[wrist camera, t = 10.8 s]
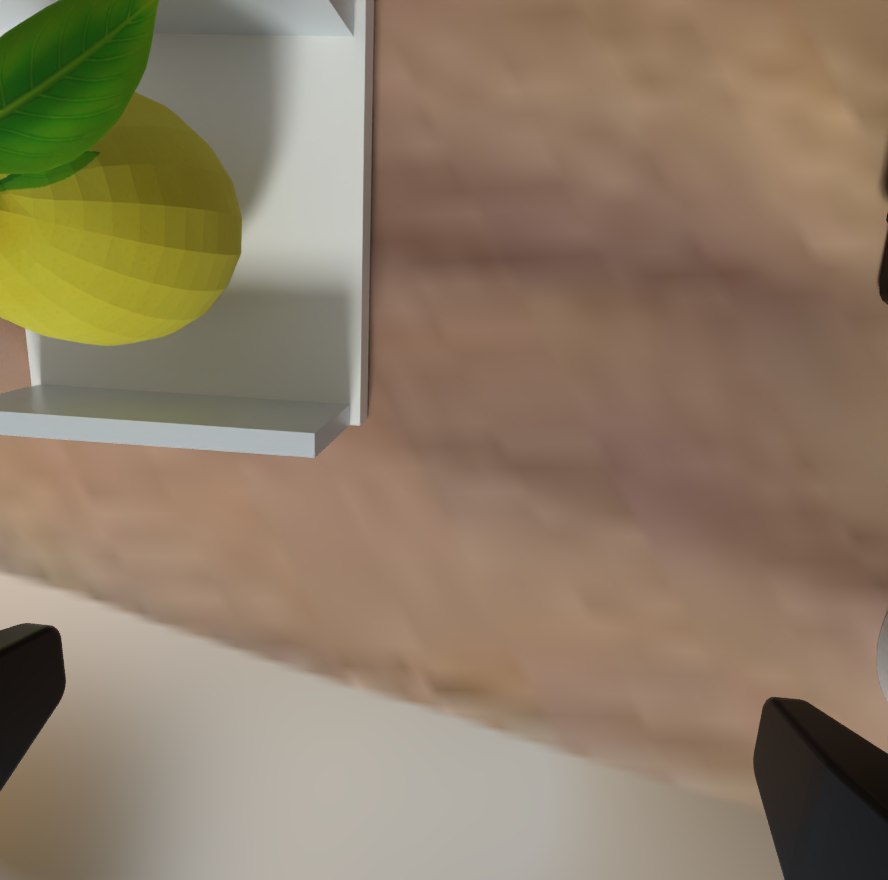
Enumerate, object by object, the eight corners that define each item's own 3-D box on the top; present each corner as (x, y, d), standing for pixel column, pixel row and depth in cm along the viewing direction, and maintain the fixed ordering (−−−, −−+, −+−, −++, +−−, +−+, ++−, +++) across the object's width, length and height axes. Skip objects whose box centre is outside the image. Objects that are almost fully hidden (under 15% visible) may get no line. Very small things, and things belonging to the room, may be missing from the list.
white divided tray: (382, -478, 15) (327, -789, 10) (367, 417, 20) (326, 458, 16) (-34, -457, 16) (-243, -736, 11) (55, 397, 21) (-65, 430, 16)
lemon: (295, 98, 17) (10, -130, 7) (313, 328, 18) (96, 389, 9) (53, 113, 18) (-496, -75, 8) (89, 333, 19) (-341, 396, 9)
